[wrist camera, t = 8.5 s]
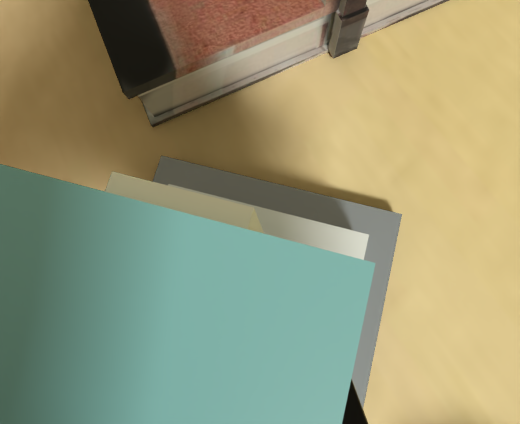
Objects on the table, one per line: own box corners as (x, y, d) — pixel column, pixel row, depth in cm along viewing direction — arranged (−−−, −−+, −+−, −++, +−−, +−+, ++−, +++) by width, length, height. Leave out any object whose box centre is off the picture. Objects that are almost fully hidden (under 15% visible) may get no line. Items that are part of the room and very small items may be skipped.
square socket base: (341, 484, 17) (357, 537, 13) (88, 398, 18) (43, 426, 15) (395, 217, 19) (420, 204, 16) (166, 161, 21) (144, 138, 17)
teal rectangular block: (276, 380, 15) (250, 860, 3) (174, 349, 16) (-236, 623, 3) (303, 267, 16) (381, 232, 4) (207, 241, 17) (-17, 130, 4)
